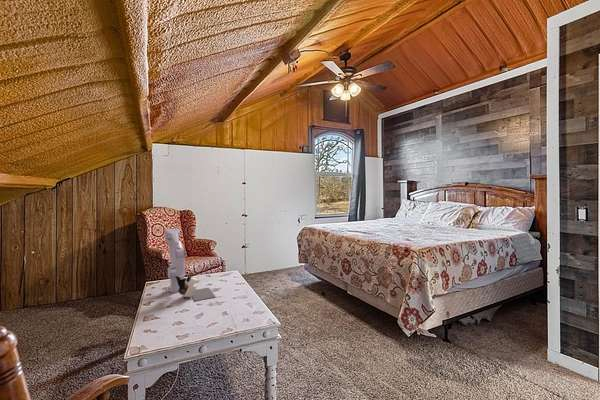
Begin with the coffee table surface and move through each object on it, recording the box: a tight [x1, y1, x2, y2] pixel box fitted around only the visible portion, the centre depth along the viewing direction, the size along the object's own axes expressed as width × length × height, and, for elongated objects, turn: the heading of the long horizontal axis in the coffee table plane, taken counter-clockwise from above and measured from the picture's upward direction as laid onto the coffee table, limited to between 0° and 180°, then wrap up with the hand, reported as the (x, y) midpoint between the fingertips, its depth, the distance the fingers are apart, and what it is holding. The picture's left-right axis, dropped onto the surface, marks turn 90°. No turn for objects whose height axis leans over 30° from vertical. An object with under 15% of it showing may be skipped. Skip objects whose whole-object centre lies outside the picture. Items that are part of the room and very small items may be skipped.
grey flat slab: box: [191, 287, 216, 302], centre depth 188 cm, size 20×13×1 cm, turn 30°
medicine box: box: [177, 275, 197, 298], centre depth 184 cm, size 7×7×12 cm
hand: (181, 287), depth 184 cm, fingers open, 7 cm apart
